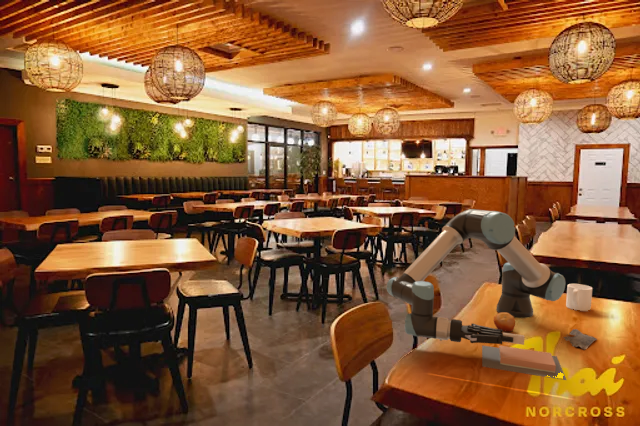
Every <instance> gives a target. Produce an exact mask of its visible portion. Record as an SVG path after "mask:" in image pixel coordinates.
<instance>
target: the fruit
mask: <svg viewBox="0 0 640 426" xmlns="http://www.w3.org/2000/svg"><path fill="white" fill-rule="evenodd" d="M515 318H516V317H513V316H512V315H510V314H509V313H507V312H501V313H499V312H497V314H495V315H494V317H493V323H494V325H495V327H496V329H499V330H500V331H501V329H502V330H503V333H511V332H513V331H514V330H515V327H516V319H515Z"/></svg>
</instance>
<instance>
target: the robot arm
mask: <svg viewBox="0 0 640 426" xmlns="http://www.w3.org/2000/svg"><path fill="white" fill-rule="evenodd" d="M441 230H442V231H441V233H440V234H439V235H437V237H435V239H433V241H432V242H431V243H430V244H429V245H428V247H426V248H425V249H424V250H423V251H422V253H420V255H419V256H418V257H417V258H416V259H415V260H414V261H413V262H412V263H411V264H410V265H409V266H408V267H407V268H406V270H404V271H403V273H402V274H401V275H400V276H399V277H397V276H394V277H392V278H390V279H389V280H388V281H387V282H386V292H387V293H388V294H389V295H390V296H391V297H393V298H394V299H397V300H399V301H402V302H404V303H406V304H409V305H411V313H410V312H409V313H406V315H405V319H404V332H405V334H407V335H411V336H414V337H420V338H426V339H427V338H429V339H434V340H435V339H436V340H439V341H440V342H442V341H448V340H449V341H450V342H454V343H455V342H456V343H461V342H462V339H465V340H468V341H470V343H471V344H475V343H476V344H477V343H478V344H491V345H492V344H493V345H494V344H495V345H503V343H510V344H516V345H525V335H524V334H517V333H511V332H504V331H503V330H502V329H501V331H500V330H499V329H497V328H494V327H493V328H492V327H488V326H486V325H485V326H483V325H478V324H476V323H471V324H468V325H467V324H466V325H463V321H462V319H454V318H452V319H451V320H450V318H448V317H439V316H434V300H435V299H434V298H435V294H434V293H435V292H434V289H435V288H434V285H433V284H432V283H431V282H429V281H425V280H426V278H428V276H429V275H430V274H431V273H432V272H433V271H434V270H435V269H436V268H437V267H438V266H439V264H440V263H441V262H443V260H444V259H445V258H446V257H447V256H448V255H449V254H450V253H451V251H452V250H453V249H455V247H456V246H457V245H462V244H463V242H465V240H467V239H473V240H478V241H481V242H482V243H484V245H486V247H487V248H488V249H490V250H491V251H492V250H493V251H497V252H498V253H499V254H500V255H501V256H502V257H503V258H504V259H505V261H506V262H505V263H504V264H503V267H502V268H503V269H502V277H501V280H502V281H501V294H500V297H499V299H498V302H497V304H496V312H497V313H501V312H507V313H509V314H510V315H512V316H513V317H514V318H519V319H520V318H521V319H526V318H527V319H528V318H532V317H533V316H534V308H533V305H532V301H531V296H532V297H533V296H534V297H536V298H539V299H543V300H545V301H551V302H555V301H557V300H559V299H560V298H561V297H562V296H563V294H564V291H565V290H566V289H565V288H566V278H565V277H564V275H563V274H560V273H559V272H554V271H552V270H551V269H550V268H549V266H547V264H545V263H540V262H539V261H538V260H537V259H536V258H535V257H534V256H533V255H532V254H531V252H530V251H529V250H528V249H527V248H526V247H525V246H524V244H522V242H521V241H520V240H518V238H517V237H516V236H515V235H516V234H515V232H516V227H515V221H514V220H513V218H512V217H511V216H510V215H509V214H508V213H505V212H501V211H497V210H485V209H475V208H470V209H465V210H463V211H461V212H459V213H458V214H457V215H455V216H454V217H451V219H450V220H449V221H448V222H447V223H446V224H445V225H444V226H443V227H442V228H441Z"/></svg>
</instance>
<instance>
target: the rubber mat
mask: <svg viewBox="0 0 640 426" xmlns="http://www.w3.org/2000/svg"><path fill="white" fill-rule="evenodd" d="M481 348H482V349H481V351H482V353H481V356H482V357H481V360H482V361H481V362H482V365H481V366H482V367H483V368H489V369H496V370H502V371H508V372H514V373H520V374H526V375H532V376H538V377H545V376H547V375H548V376H550V377H551V378H550V377H549V378H550V379H556V378H555V376H556V377H557V375H558V373H560V372H561V373H563V374H564V376H563V381H567V377H566V375H565V373H564V370H563V368H562V366H561V363H560V361H559V358H558V356H557V355H552V357H553V360H554V362H555V365H556V369H555V373H553V372H547V371H540V370H534V369H528V368H521V367H515V366H509V365H502V364H500V357H499V347H494V346H490V345H489V346H488V345H481ZM553 376H554V377H553ZM545 378H546V377H545ZM557 380H559V379H558V378H557Z"/></svg>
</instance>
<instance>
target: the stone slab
mask: <svg viewBox="0 0 640 426" xmlns="http://www.w3.org/2000/svg"><path fill="white" fill-rule="evenodd" d="M569 335H571V336H569ZM569 335H568V334H566V336H563V339H564V340H565V341H567V342H569V343H570V344H571V346H572V347H573V348H577V347H579V348H581V350H583V351H585V350H587V349H588V348H589V346H591V344H592V343H594V341H597V340H598V338H596V337H594V336H590V335H587V334H583V332H581V331H580V330H579V329H577V328H576V329H575V328H573V329H572V330H570V332H569ZM560 343H563V342H562V341H561V342H560Z"/></svg>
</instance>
